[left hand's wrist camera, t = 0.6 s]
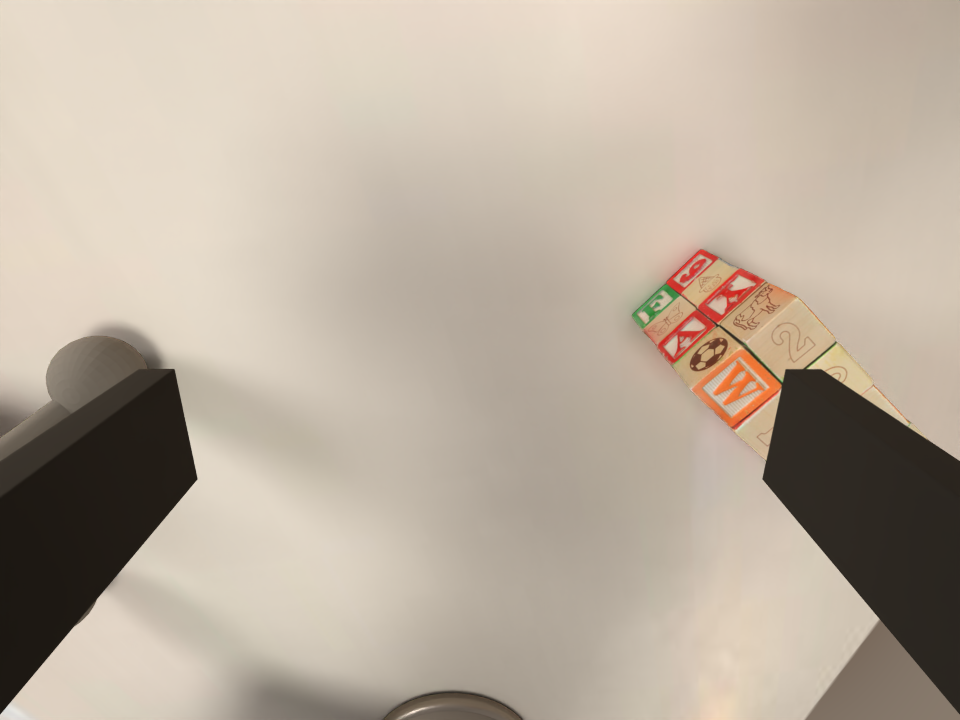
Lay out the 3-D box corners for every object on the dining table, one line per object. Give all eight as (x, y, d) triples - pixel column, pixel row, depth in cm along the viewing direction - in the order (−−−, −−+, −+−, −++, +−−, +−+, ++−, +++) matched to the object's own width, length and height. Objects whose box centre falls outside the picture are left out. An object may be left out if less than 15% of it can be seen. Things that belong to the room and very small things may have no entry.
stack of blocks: (887, 444, 41) (1042, 560, 30) (815, 497, 43) (937, 626, 32) (700, 246, 36) (801, 295, 25) (627, 315, 38) (690, 391, 26)
